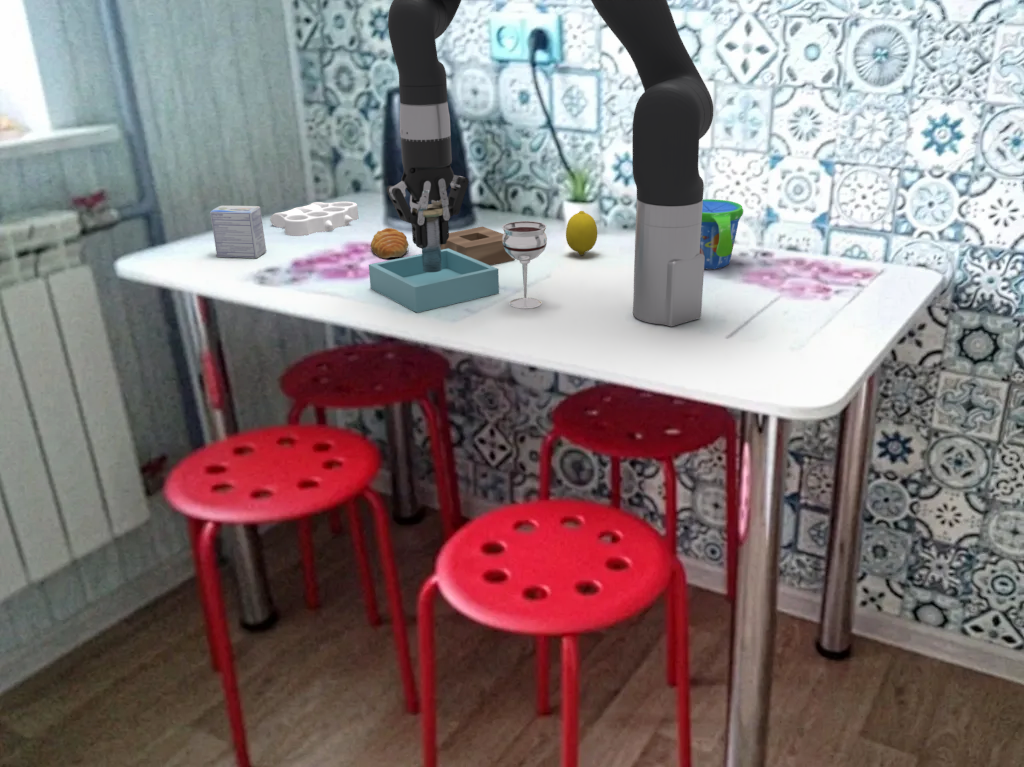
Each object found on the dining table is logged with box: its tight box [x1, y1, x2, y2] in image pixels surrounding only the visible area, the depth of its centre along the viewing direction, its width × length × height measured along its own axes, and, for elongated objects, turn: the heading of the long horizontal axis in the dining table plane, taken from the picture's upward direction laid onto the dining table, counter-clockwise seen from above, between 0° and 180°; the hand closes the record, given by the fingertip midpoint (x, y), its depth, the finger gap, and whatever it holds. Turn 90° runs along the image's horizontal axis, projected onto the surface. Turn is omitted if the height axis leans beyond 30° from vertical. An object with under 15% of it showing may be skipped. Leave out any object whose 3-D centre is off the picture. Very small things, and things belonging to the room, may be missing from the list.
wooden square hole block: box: [441, 226, 516, 266], centre depth 170 cm, size 10×10×4 cm
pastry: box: [370, 227, 410, 260], centre depth 175 cm, size 9×7×4 cm
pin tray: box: [368, 248, 500, 314], centre depth 154 cm, size 15×15×4 cm
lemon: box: [565, 210, 598, 256], centre depth 170 cm, size 6×6×8 cm
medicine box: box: [209, 205, 267, 259], centre depth 175 cm, size 8×4×9 cm, turn 80°
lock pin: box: [415, 203, 444, 272], centre depth 152 cm, size 4×4×10 cm
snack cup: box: [700, 198, 744, 270], centre depth 163 cm, size 16×10×10 cm
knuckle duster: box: [269, 201, 359, 237], centre depth 196 cm, size 3×18×15 cm
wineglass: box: [501, 220, 548, 309], centre depth 146 cm, size 7×7×12 cm
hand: (431, 244), depth 152 cm, fingers closed on lock pin, 3 cm apart
